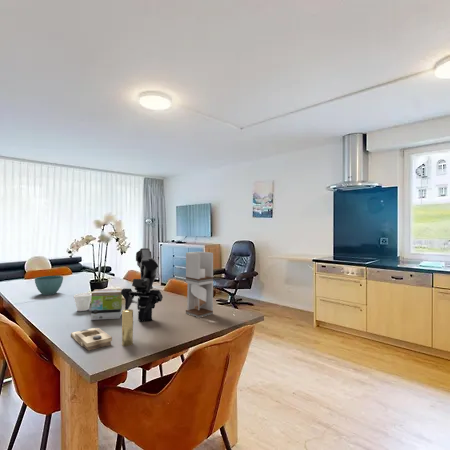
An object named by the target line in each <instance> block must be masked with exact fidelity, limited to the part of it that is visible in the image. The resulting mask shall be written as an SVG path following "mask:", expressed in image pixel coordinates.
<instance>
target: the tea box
mask: <svg viewBox="0 0 450 450" xmlns="http://www.w3.org/2000/svg"><path fill="white" fill-rule="evenodd" d="M122 289H123V288H101V289H94V290H93V291H92V293H91V294H92V295H91V302H90V321H94V320H95V321H97V320H98V321H99V320H113V319H114V320H115V319H116V320H117V319H118V320H119V319H121V317H122V311H123V310H122V309H123V308H122V306H123V304H122V302H123V296H122V294H121V291H122Z"/></svg>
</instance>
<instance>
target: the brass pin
mask: <svg viewBox="0 0 450 450" xmlns="http://www.w3.org/2000/svg"><path fill="white" fill-rule="evenodd" d="M133 344H134V309H132V308H131V309H130V308H129V309H127V310H125V309H123V310H122V311H121V345H122V347H129V346H132V345H133Z"/></svg>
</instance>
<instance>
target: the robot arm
mask: <svg viewBox="0 0 450 450" xmlns="http://www.w3.org/2000/svg"><path fill="white" fill-rule="evenodd" d="M135 262H136V265H137V267H138V268H139V270H140V278H134V279H132V285H131V287H134V290H135V291H133V290H132V288H128V287H127V288H125V287H124V288H121V289H122V291H121V294H122V298H124V300H125V301H124V303H125V304H124V305H125V306H124V310H127V309H130V307H131V305H132V301H133V300H132V299H133V298H134V299H135V297H138V298H137V300H138V301H137V303H136V307H137V310H138V311H137V319H138V321H139V323H142V322H143V323H144V322H151V321H153V309H154V308H155V306H156V304H157V303H159V302H162V300H163V294H162V292H161V290H160V289H153V288H154V287H153V285H154V282H155V280H156V277H157V270H158V268H159V264H158V263H157V261H156V260H155V258H153V257H152V251H151V250H150V248H148V247H147V248H146V247H143V248H140V249H139V250H138V251H137V252H136V254H135Z"/></svg>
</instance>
